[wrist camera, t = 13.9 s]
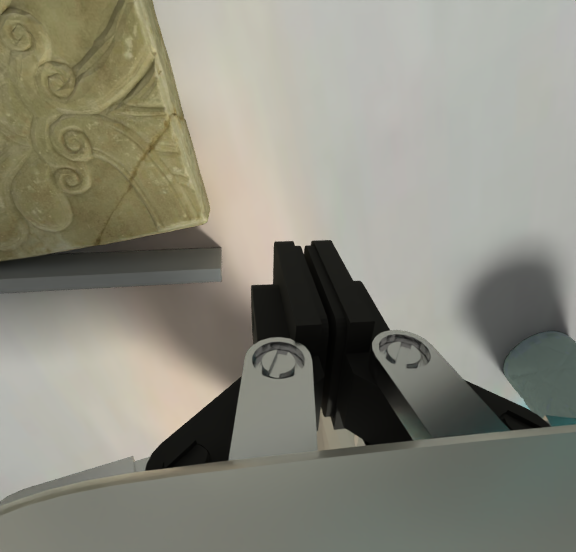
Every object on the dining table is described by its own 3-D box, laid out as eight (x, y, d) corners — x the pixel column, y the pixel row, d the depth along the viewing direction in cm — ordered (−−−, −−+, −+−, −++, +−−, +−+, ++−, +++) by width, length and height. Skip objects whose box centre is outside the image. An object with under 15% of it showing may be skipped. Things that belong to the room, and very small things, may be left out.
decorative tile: (212, 213, 31) (210, 231, 28) (-41, 255, 30) (-71, 279, 27) (134, -101, 20) (119, -126, 18) (-255, -56, 19) (-342, -73, 16)
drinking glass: (483, 385, 47) (553, 478, 37) (520, 322, 42) (613, 410, 32) (551, 384, 49) (635, 472, 39) (594, 324, 44) (703, 408, 34)
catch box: (184, -224, 18) (177, -275, 15) (222, 259, 32) (221, 281, 30) (-430, -299, 15) (-589, -381, 12) (-88, 274, 29) (-123, 299, 26)
